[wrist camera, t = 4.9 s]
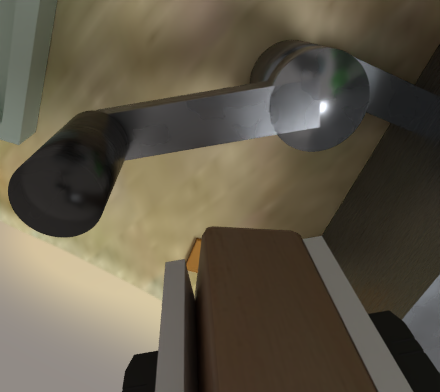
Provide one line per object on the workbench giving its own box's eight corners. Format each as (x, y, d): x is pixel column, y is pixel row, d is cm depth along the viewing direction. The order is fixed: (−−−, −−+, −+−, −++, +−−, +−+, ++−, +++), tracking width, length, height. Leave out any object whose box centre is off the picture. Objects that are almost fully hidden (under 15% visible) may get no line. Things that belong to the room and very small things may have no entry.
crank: (359, 37, 17) (469, 51, 10) (355, 134, 19) (442, 196, 13) (57, 88, 17) (-25, 135, 10) (90, 180, 19) (41, 265, 13)
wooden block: (193, 297, 15) (199, 541, 8) (202, 221, 13) (220, 455, 6) (280, 299, 16) (354, 530, 9) (300, 227, 14) (414, 448, 7)
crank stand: (306, -61, 18) (417, -131, 10) (524, 57, 22) (743, 85, 14) (172, 264, 28) (167, 380, 19) (343, 306, 32) (405, 418, 23)
